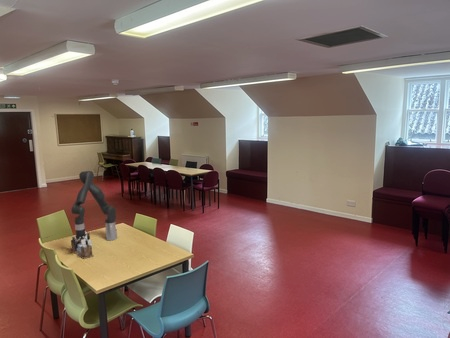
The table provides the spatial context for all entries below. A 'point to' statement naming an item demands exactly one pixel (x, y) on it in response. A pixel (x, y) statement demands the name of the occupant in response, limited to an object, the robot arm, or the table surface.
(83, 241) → the decorative molding
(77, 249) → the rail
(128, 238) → the table surface
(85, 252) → the brown wooden block
